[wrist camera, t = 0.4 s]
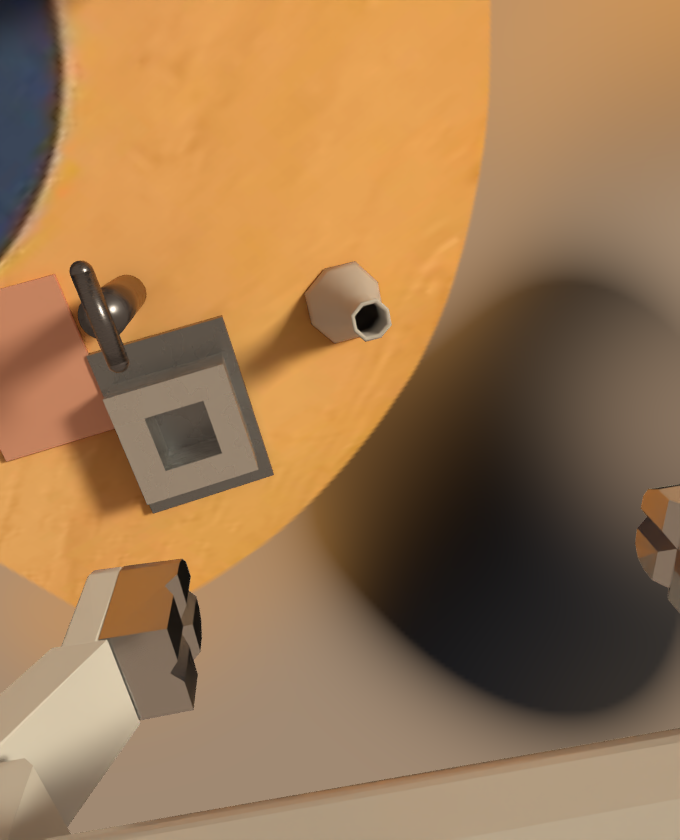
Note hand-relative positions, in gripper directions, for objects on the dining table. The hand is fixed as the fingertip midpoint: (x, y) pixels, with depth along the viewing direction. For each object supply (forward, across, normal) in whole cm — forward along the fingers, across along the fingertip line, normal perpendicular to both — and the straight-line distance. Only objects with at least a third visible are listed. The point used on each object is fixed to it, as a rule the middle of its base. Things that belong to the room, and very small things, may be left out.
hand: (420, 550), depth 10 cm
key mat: (+42, +24, +11) cm, 50 cm away
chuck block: (+42, +13, +17) cm, 47 cm away
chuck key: (+44, +15, +6) cm, 47 cm away
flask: (+45, -3, +9) cm, 46 cm away
